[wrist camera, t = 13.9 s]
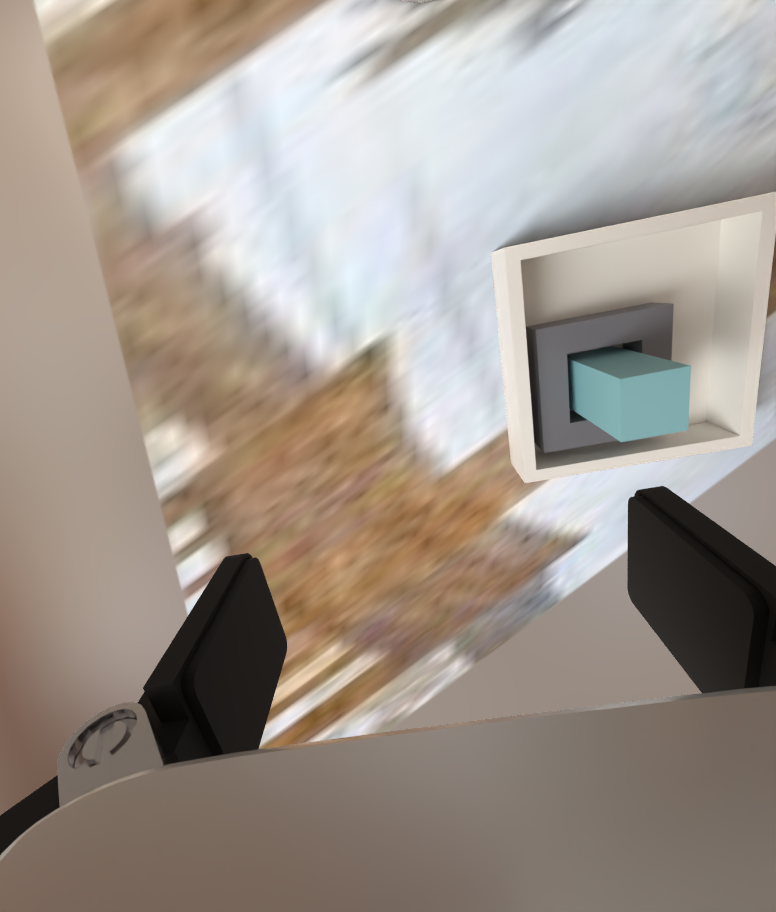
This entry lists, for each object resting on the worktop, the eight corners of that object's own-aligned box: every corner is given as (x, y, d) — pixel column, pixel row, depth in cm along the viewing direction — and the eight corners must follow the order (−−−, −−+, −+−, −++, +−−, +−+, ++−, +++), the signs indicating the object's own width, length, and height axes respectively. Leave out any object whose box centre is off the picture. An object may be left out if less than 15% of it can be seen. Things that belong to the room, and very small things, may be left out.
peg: (561, 356, 36) (620, 379, 27) (613, 346, 36) (690, 365, 27) (564, 404, 38) (621, 442, 28) (613, 395, 37) (688, 430, 28)
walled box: (490, 252, 34) (504, 247, 30) (730, 203, 33) (780, 190, 28) (510, 463, 40) (524, 483, 36) (712, 428, 39) (751, 445, 35)
